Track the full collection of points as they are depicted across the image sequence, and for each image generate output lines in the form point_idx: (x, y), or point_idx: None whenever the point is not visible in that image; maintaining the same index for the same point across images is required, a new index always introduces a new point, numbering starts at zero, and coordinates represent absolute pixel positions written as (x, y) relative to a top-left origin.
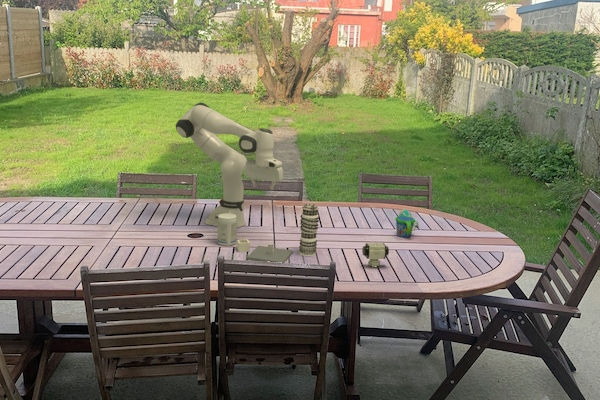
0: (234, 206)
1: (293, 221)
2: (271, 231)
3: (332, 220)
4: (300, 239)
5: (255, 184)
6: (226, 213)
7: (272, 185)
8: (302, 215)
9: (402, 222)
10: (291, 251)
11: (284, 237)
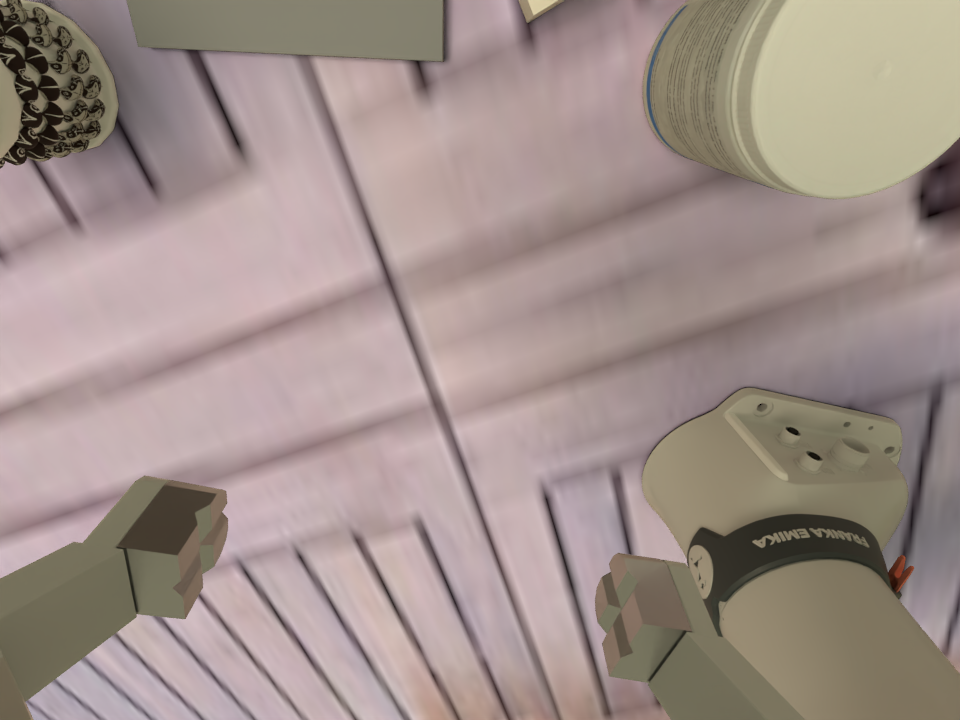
0: (769, 531)
1: (403, 592)
2: (463, 428)
3: (240, 647)
4: (22, 78)
5: (640, 611)
6: (888, 177)
7: (32, 574)
8: None
9: None
10: (134, 10)
11: (351, 357)
